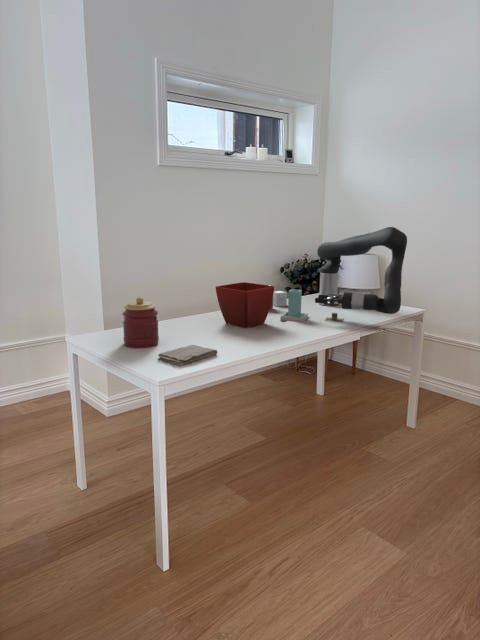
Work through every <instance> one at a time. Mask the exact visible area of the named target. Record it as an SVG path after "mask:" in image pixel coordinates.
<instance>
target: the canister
mask: <svg viewBox="0 0 480 640" xmlns="http://www.w3.org/2000/svg"><path fill="white" fill-rule="evenodd" d="M156 307H157V305H156V304H153V303H152V302H150V301H144V298H143V297H141V296H139V297H138V296H137V298H136V300H135V301H131V302H128V303H127V304H126V305H125V306H124V307H123V308H124V309H125V310H124V311H123V312H122V313H121V315H122V316H123V321H122V324H123V325H122V326H123V343H124V346H126V347H127V348H128V347H129V348H133V349H135V348H136V349H139V348H140V349H144V348H151V347H155V346H156V345H158V344H159V341H160V339H159V338H160V336H159V320H158V317H157V316H158V314H159V311H158V310H156Z"/></svg>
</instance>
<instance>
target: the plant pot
mask: <svg viewBox="0 0 480 640" xmlns="http://www.w3.org/2000/svg"><path fill="white" fill-rule="evenodd" d="M270 285H271V284H260V283H254V282H244V281H243V282H242V281H241V282H236V283H229V284H223V285H222V284H221V285H217V286H215V288H214V289H215V294H216V296H217V297H216V298H217V302H218V305H219V308H220V311H221V314H222V316H223V318H222V319H224V322H225V324H227V325H233V326H237V327H241V328H250V327H253V326H258V325H262V324H265V323H266V320H267V317H268V314H269V312H270V310H269V309H270V306H271V302H272V298H273V293H274V291H275V285H272V286H270Z"/></svg>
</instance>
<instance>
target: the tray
mask: <svg viewBox="0 0 480 640" xmlns="http://www.w3.org/2000/svg"><path fill="white" fill-rule="evenodd" d="M308 317H309V314H308V313H306V312H301V317H289V316H288V311H285V312H284V313H283V314H281V315H280V322H288V321H293V322H301V323H302V322H305V321H306V319H308Z"/></svg>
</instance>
